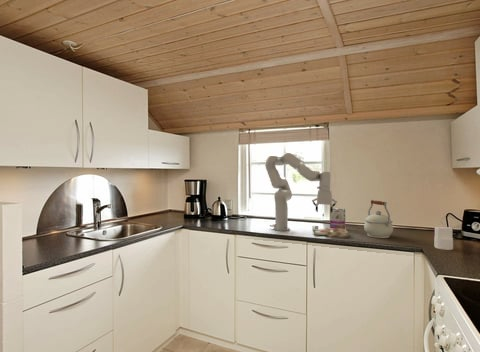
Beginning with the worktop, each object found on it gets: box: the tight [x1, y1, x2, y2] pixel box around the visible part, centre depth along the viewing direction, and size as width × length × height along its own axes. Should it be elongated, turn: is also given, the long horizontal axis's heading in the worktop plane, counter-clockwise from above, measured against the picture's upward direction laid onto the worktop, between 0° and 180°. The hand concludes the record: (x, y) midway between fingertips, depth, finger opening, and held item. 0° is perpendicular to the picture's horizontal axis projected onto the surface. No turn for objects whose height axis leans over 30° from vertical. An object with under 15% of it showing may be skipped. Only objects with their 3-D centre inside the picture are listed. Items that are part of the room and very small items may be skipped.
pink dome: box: [320, 228, 330, 233], centre depth 202 cm, size 7×7×2 cm
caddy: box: [325, 227, 350, 239], centre depth 200 cm, size 14×14×4 cm
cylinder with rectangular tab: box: [433, 226, 454, 251], centre depth 166 cm, size 9×9×12 cm
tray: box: [312, 225, 333, 236], centre depth 202 cm, size 14×14×4 cm
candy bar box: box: [329, 207, 346, 229], centre depth 224 cm, size 11×5×16 cm, turn 62°
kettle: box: [363, 199, 394, 239], centre depth 199 cm, size 25×18×25 cm
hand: (323, 212), depth 202 cm, fingers open, 9 cm apart
